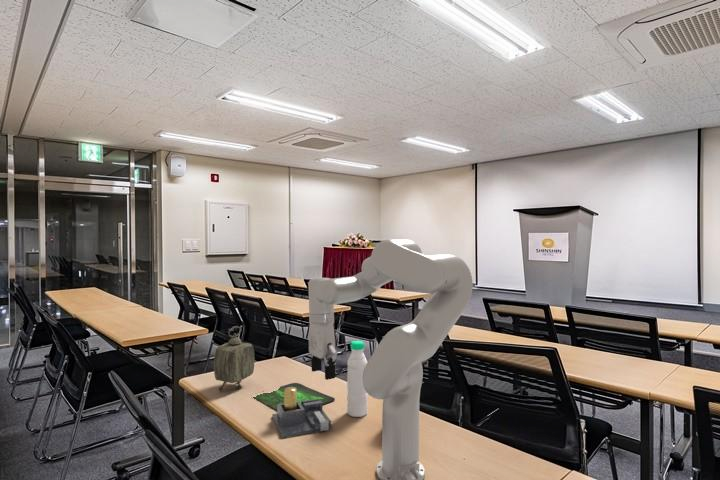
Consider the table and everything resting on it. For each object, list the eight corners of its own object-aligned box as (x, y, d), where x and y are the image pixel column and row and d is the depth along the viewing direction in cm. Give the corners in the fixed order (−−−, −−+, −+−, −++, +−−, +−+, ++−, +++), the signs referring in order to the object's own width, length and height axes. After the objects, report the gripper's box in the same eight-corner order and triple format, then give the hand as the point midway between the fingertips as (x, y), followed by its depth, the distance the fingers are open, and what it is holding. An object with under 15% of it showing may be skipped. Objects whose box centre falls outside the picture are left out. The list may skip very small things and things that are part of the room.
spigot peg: (297, 420, 136) (297, 390, 136) (285, 422, 135) (285, 392, 135) (294, 415, 140) (294, 386, 140) (283, 417, 138) (283, 387, 138)
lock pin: (328, 429, 130) (328, 421, 130) (320, 431, 129) (320, 422, 129) (320, 418, 138) (320, 410, 138) (312, 419, 137) (312, 411, 137)
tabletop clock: (239, 380, 177) (239, 322, 177) (256, 383, 173) (256, 324, 173) (213, 392, 164) (213, 329, 164) (231, 395, 160) (231, 331, 160)
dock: (331, 429, 132) (332, 413, 132) (281, 438, 126) (281, 422, 126) (317, 409, 147) (317, 395, 147) (272, 417, 141) (272, 402, 141)
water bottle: (365, 418, 140) (365, 345, 140) (345, 416, 141) (345, 343, 141) (369, 410, 147) (369, 339, 147) (349, 408, 148) (349, 338, 148)
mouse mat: (248, 396, 160) (248, 394, 160) (294, 382, 175) (294, 380, 175) (288, 419, 140) (288, 416, 140) (337, 401, 156) (337, 398, 156)
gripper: (299, 316, 132) (301, 369, 132) (322, 323, 117) (324, 384, 117) (320, 313, 136) (322, 365, 136) (345, 320, 121) (347, 379, 121)
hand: (323, 374), depth 126 cm, fingers open, 9 cm apart
